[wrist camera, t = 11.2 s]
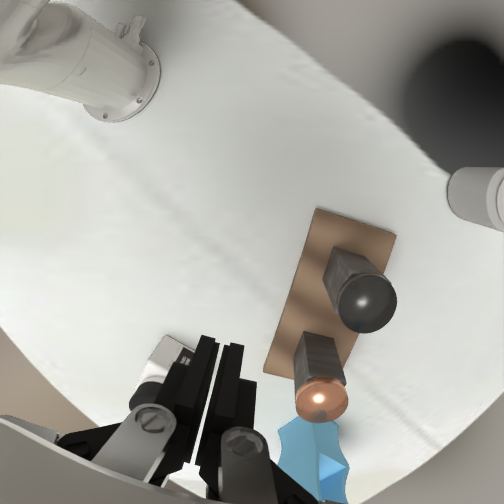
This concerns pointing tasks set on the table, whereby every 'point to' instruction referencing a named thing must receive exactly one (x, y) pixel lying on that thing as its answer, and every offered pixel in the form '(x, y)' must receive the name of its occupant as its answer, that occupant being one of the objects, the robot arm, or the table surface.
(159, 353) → the container
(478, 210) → the can
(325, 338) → the stand
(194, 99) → the table surface
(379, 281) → the plunger black
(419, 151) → the table surface
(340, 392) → the plunger terracotta
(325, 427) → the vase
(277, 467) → the robot arm
